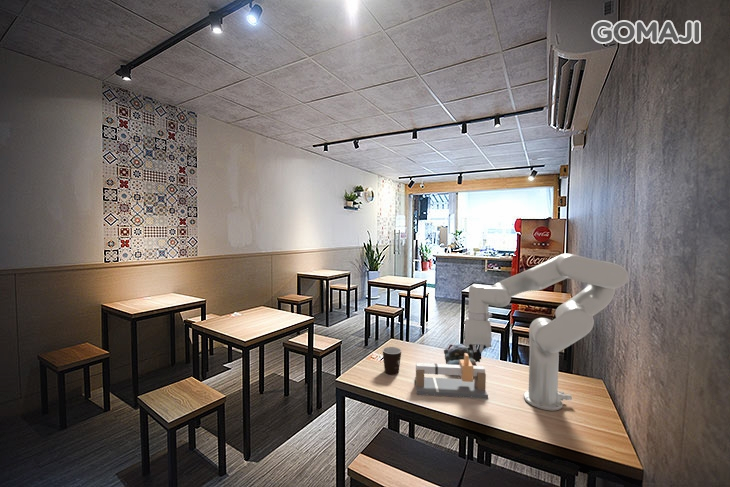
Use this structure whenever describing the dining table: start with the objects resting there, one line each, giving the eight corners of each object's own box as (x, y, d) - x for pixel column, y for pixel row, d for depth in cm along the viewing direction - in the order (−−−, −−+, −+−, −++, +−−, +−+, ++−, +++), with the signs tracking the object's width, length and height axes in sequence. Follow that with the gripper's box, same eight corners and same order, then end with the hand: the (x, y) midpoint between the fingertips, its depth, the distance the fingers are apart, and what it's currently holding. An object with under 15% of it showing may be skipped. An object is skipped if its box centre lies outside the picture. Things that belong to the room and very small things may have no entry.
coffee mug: (390, 378, 136) (391, 355, 135) (378, 370, 143) (378, 349, 142) (409, 371, 143) (410, 349, 142) (397, 364, 149) (397, 344, 149)
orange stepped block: (469, 374, 129) (469, 351, 128) (473, 381, 122) (473, 357, 122) (459, 374, 129) (459, 351, 129) (462, 381, 123) (463, 357, 122)
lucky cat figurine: (440, 373, 140) (437, 341, 146) (450, 375, 149) (447, 345, 155) (473, 371, 132) (468, 338, 139) (482, 373, 141) (477, 342, 148)
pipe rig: (479, 383, 131) (479, 361, 131) (488, 398, 119) (488, 374, 119) (415, 380, 134) (415, 358, 133) (417, 394, 122) (417, 370, 121)
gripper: (494, 314, 127) (493, 358, 128) (457, 312, 129) (456, 356, 130) (500, 319, 120) (499, 365, 121) (461, 317, 121) (459, 363, 122)
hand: (476, 360), depth 125 cm, fingers closed
